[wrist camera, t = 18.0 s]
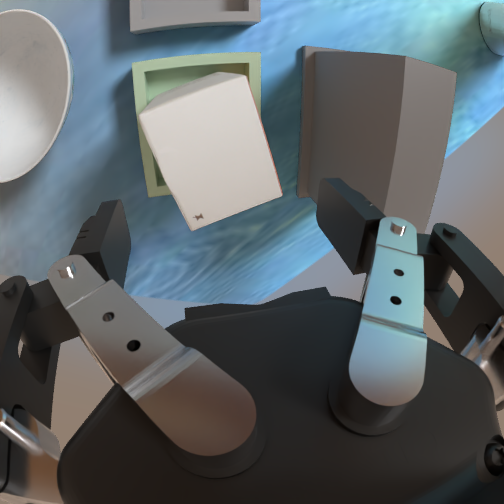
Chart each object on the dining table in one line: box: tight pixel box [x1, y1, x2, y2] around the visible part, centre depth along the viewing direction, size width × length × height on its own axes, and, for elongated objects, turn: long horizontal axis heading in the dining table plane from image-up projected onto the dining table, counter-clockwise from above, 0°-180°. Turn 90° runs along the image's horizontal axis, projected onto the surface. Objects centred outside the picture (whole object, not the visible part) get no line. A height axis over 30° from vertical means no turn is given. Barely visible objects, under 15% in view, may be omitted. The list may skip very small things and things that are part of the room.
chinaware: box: [0, 9, 74, 183], centre depth 17 cm, size 15×15×8 cm
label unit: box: [296, 46, 457, 234], centre depth 24 cm, size 7×17×15 cm, turn 1°
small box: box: [138, 72, 283, 231], centre depth 21 cm, size 8×6×13 cm
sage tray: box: [132, 52, 261, 197], centre depth 26 cm, size 11×13×3 cm
